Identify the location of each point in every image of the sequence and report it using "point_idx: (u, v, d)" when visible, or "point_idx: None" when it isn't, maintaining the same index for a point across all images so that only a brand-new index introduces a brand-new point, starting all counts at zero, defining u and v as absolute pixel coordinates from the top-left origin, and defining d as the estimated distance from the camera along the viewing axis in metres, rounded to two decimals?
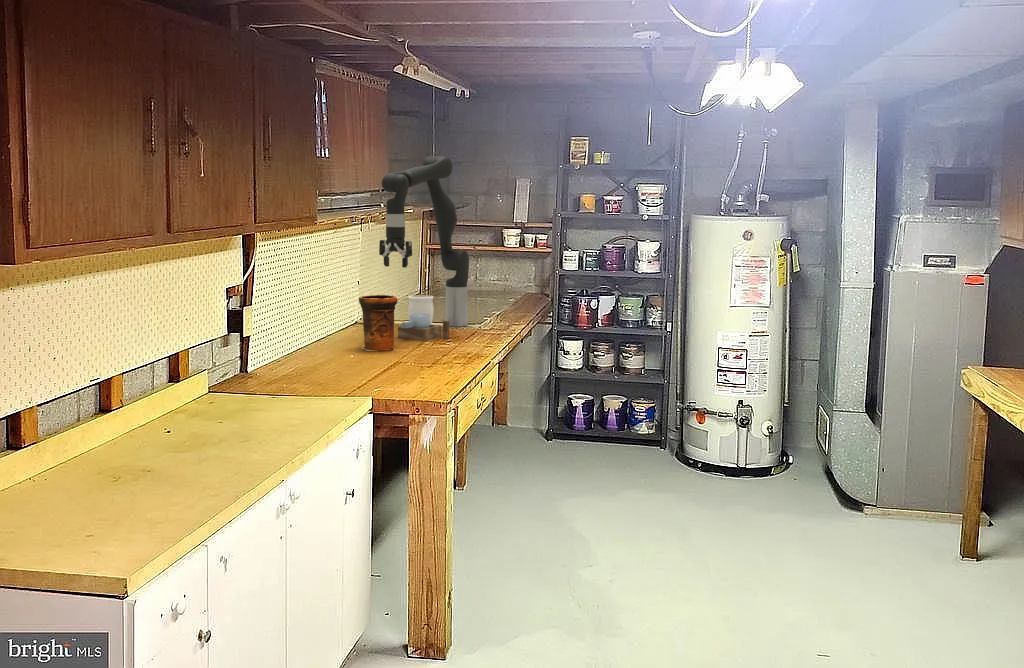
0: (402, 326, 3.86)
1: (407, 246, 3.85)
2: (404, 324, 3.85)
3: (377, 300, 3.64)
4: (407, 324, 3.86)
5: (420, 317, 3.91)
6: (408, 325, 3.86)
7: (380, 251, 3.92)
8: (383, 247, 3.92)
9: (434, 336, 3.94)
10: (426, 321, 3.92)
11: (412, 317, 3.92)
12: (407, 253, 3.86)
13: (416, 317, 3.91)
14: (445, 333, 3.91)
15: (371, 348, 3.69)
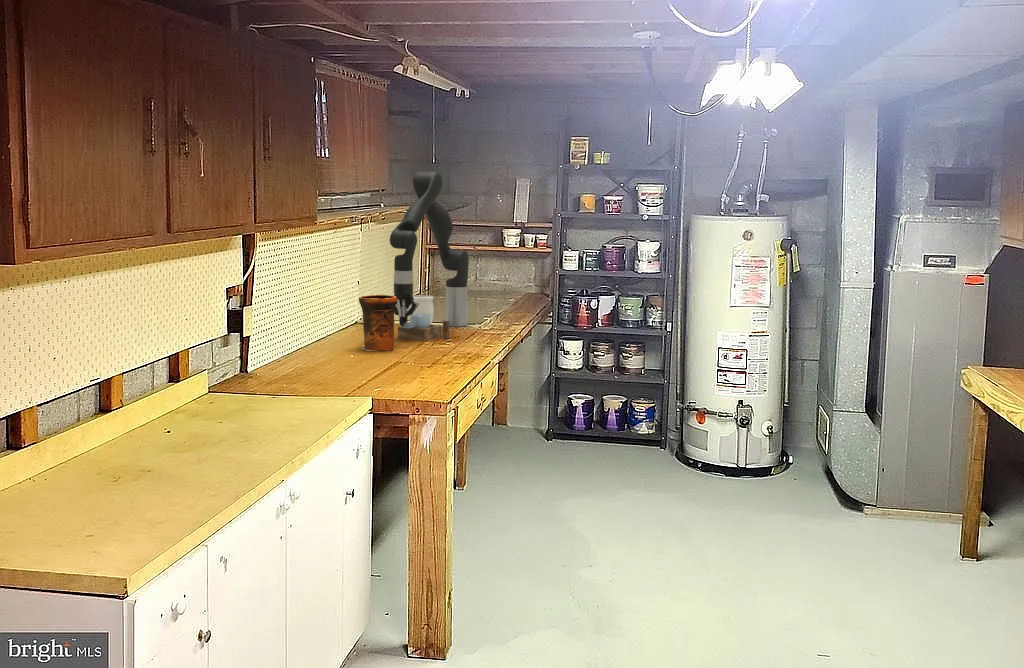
0: (405, 327, 3.85)
1: (412, 308, 3.84)
2: (407, 324, 3.84)
3: (377, 300, 3.64)
4: (410, 324, 3.85)
5: (421, 317, 3.91)
6: (410, 326, 3.86)
7: (394, 311, 3.88)
8: (395, 307, 3.88)
9: (434, 336, 3.94)
10: (427, 321, 3.92)
11: (413, 317, 3.91)
12: (407, 312, 3.85)
13: (417, 317, 3.90)
14: (445, 333, 3.91)
15: (371, 348, 3.69)
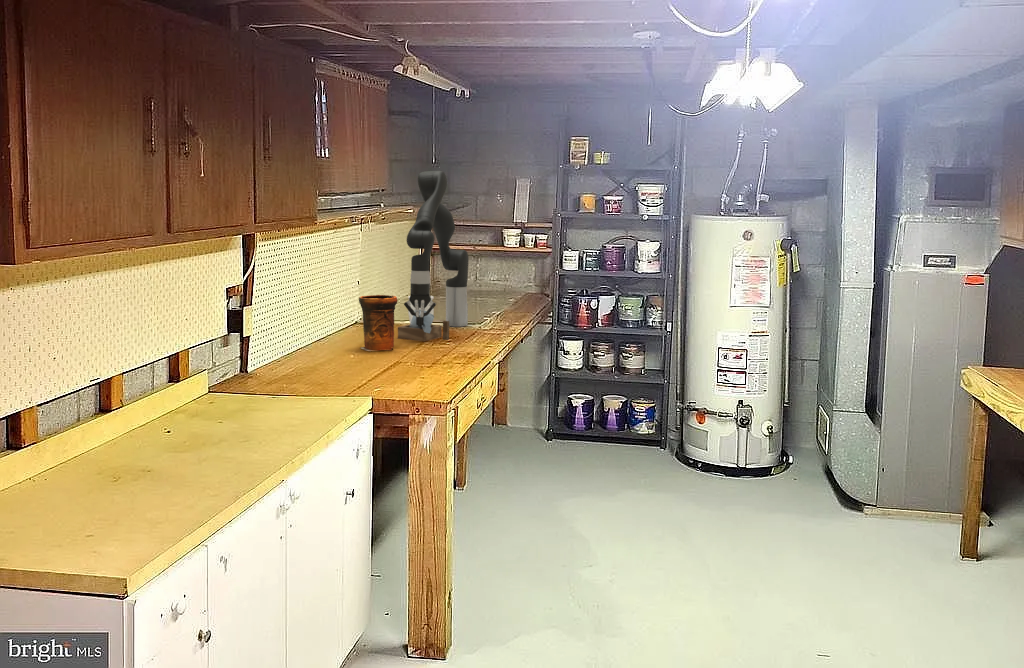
0: (426, 331, 3.84)
1: (432, 307, 3.84)
2: (429, 329, 3.84)
3: (377, 300, 3.64)
4: None
5: (431, 318, 3.91)
6: None
7: (411, 312, 3.85)
8: (410, 307, 3.86)
9: (434, 336, 3.94)
10: (432, 321, 3.94)
11: (424, 317, 3.89)
12: (426, 312, 3.85)
13: (428, 318, 3.90)
14: (445, 333, 3.91)
15: (371, 348, 3.69)
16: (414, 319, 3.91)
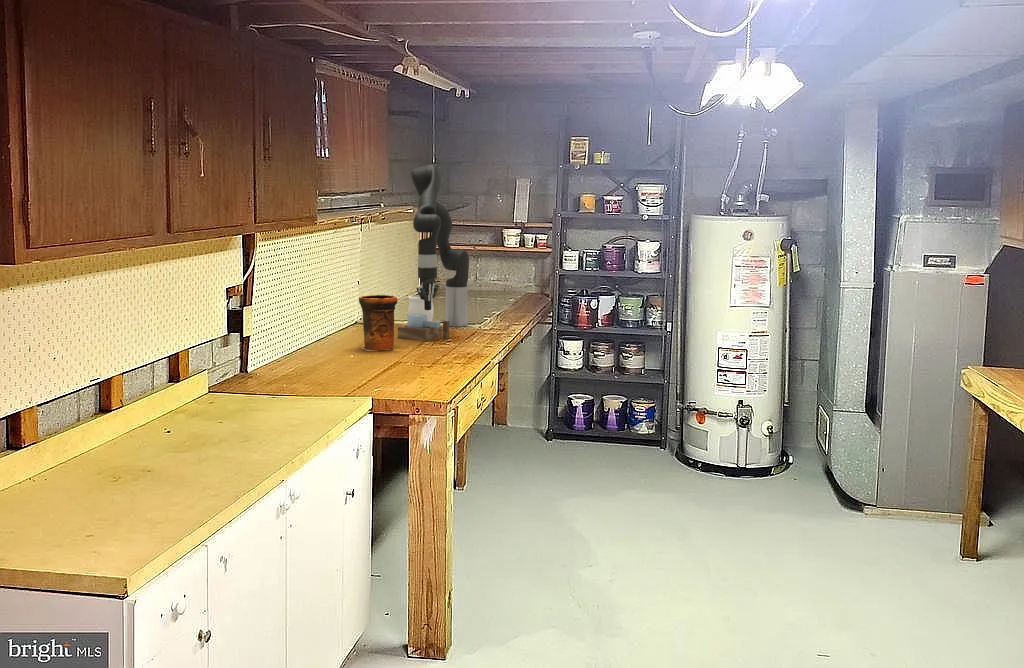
0: (438, 326, 3.88)
1: (436, 289, 3.90)
2: (439, 323, 3.89)
3: (377, 300, 3.64)
4: None
5: None
6: None
7: (426, 296, 3.83)
8: None
9: (434, 336, 3.94)
10: None
11: (423, 317, 3.91)
12: (434, 295, 3.88)
13: (426, 316, 3.93)
14: (445, 333, 3.91)
15: (371, 348, 3.69)
16: (414, 323, 3.91)
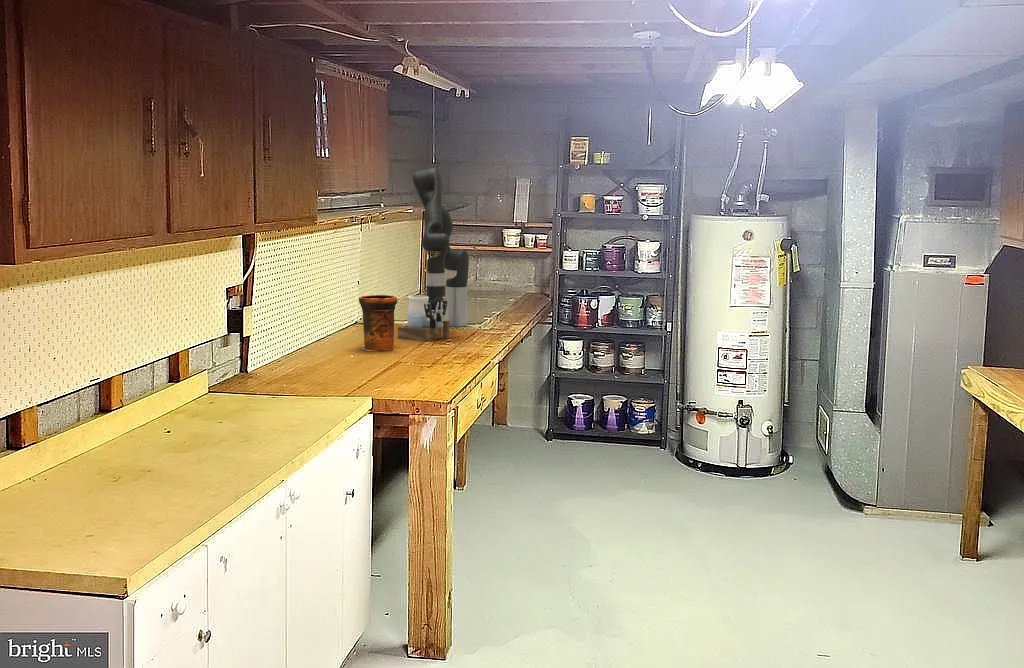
0: (439, 326, 3.89)
1: (446, 305, 3.95)
2: (440, 323, 3.89)
3: (377, 300, 3.64)
4: None
5: None
6: None
7: (431, 314, 3.86)
8: None
9: (434, 336, 3.94)
10: None
11: (424, 317, 3.92)
12: (444, 312, 3.94)
13: None
14: (445, 333, 3.91)
15: (371, 348, 3.69)
16: (415, 323, 3.91)
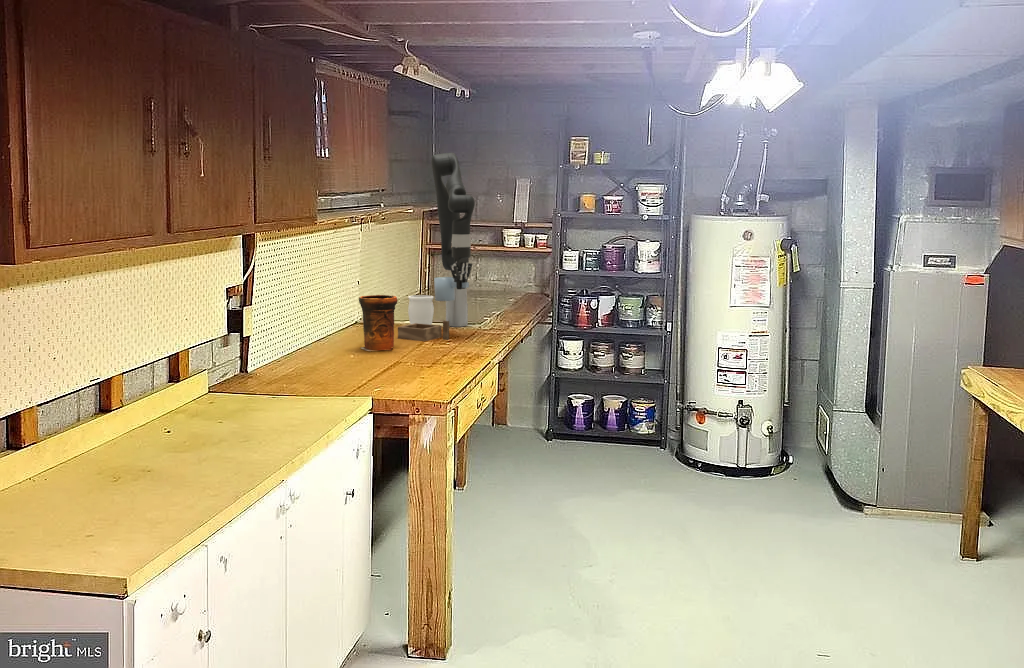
0: (467, 286, 3.94)
1: (470, 268, 3.99)
2: (467, 283, 3.95)
3: (377, 300, 3.64)
4: None
5: None
6: None
7: (458, 275, 3.91)
8: None
9: (434, 336, 3.94)
10: None
11: (451, 279, 3.97)
12: (468, 274, 3.98)
13: None
14: (445, 333, 3.91)
15: (371, 348, 3.69)
16: (442, 285, 3.96)
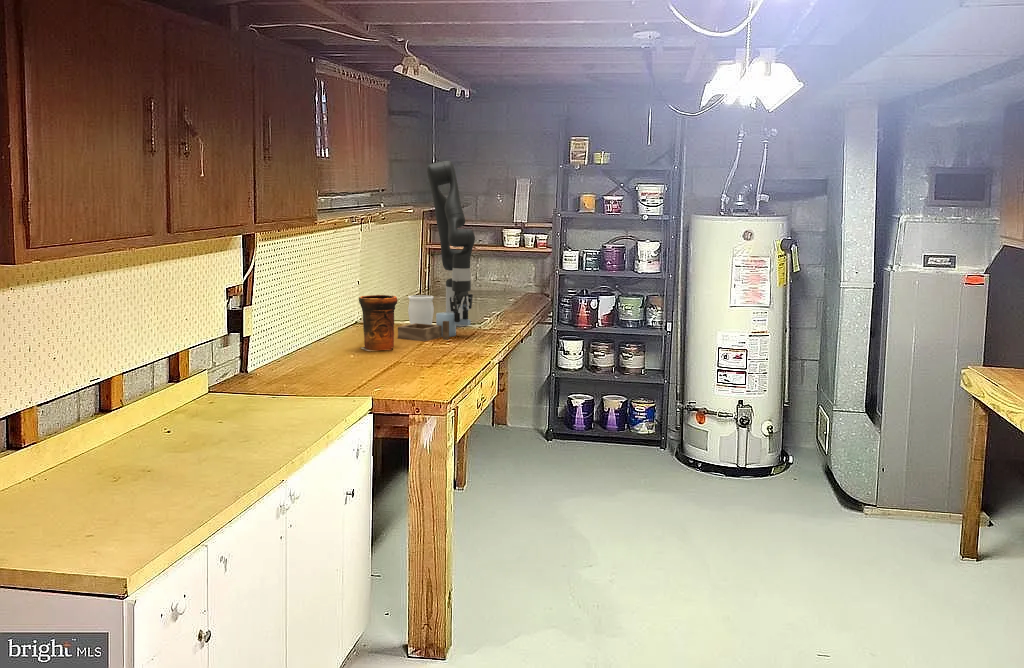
0: (468, 323, 3.96)
1: (471, 299, 4.02)
2: (469, 321, 3.97)
3: (377, 300, 3.64)
4: None
5: None
6: None
7: (456, 308, 3.92)
8: None
9: (434, 336, 3.94)
10: None
11: (453, 315, 3.99)
12: (470, 305, 4.01)
13: None
14: (445, 333, 3.91)
15: (371, 348, 3.69)
16: None
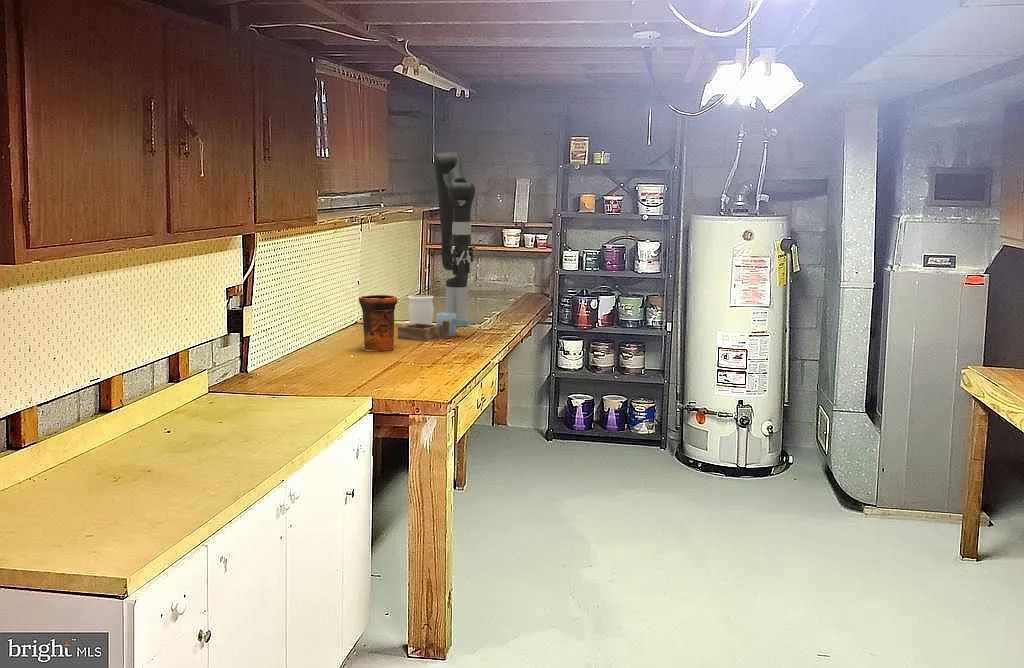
0: (468, 324, 3.96)
1: (472, 252, 3.99)
2: (469, 321, 3.97)
3: (377, 300, 3.64)
4: None
5: None
6: None
7: (455, 260, 3.88)
8: None
9: (434, 336, 3.94)
10: None
11: (453, 315, 3.99)
12: (472, 258, 4.00)
13: (455, 315, 4.00)
14: (445, 333, 3.91)
15: (371, 348, 3.69)
16: None
